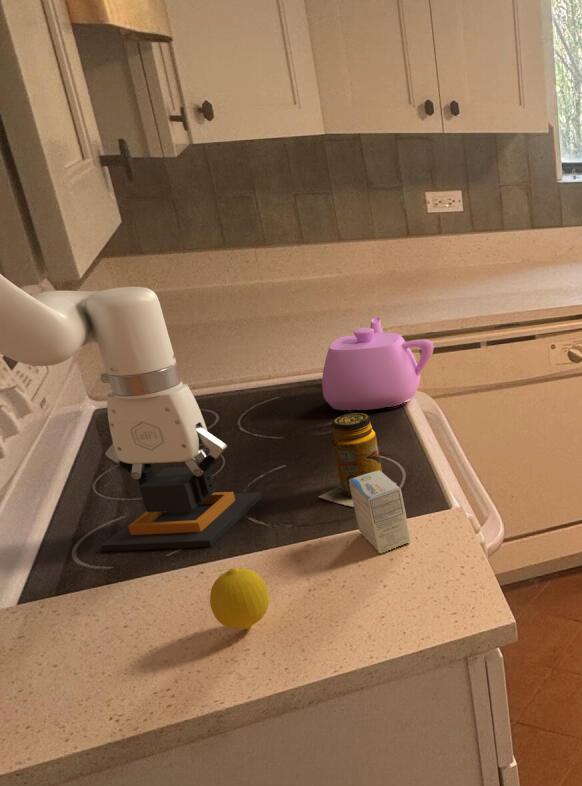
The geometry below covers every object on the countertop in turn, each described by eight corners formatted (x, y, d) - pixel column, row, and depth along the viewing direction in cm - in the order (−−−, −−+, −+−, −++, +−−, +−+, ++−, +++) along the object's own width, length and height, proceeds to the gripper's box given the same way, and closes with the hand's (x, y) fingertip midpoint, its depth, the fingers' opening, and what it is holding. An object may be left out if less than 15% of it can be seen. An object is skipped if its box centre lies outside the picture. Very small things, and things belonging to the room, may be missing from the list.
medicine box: (412, 543, 108) (402, 487, 105) (378, 555, 105) (367, 498, 102) (390, 522, 113) (380, 468, 110) (358, 533, 110) (347, 478, 107)
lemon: (264, 607, 94) (249, 550, 91) (283, 626, 91) (268, 567, 88) (212, 630, 90) (194, 571, 87) (230, 650, 87) (212, 589, 84)
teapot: (436, 410, 154) (425, 336, 149) (319, 420, 149) (303, 344, 144) (448, 373, 175) (438, 308, 169) (345, 381, 170) (332, 314, 164)
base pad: (102, 551, 106) (96, 535, 105) (165, 502, 119) (160, 487, 118) (211, 546, 107) (206, 530, 106) (261, 498, 120) (258, 483, 119)
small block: (146, 512, 109) (138, 486, 107) (172, 492, 114) (165, 467, 113) (192, 510, 109) (184, 484, 108) (215, 490, 115) (208, 465, 113)
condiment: (397, 484, 124) (385, 414, 120) (353, 507, 117) (338, 434, 113) (363, 475, 127) (350, 407, 123) (318, 498, 120) (302, 426, 116)
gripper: (57, 392, 101) (98, 514, 107) (197, 387, 102) (230, 508, 109) (97, 373, 108) (134, 489, 114) (228, 368, 109) (257, 483, 116)
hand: (180, 497), depth 111 cm, fingers closed on small block, 6 cm apart
